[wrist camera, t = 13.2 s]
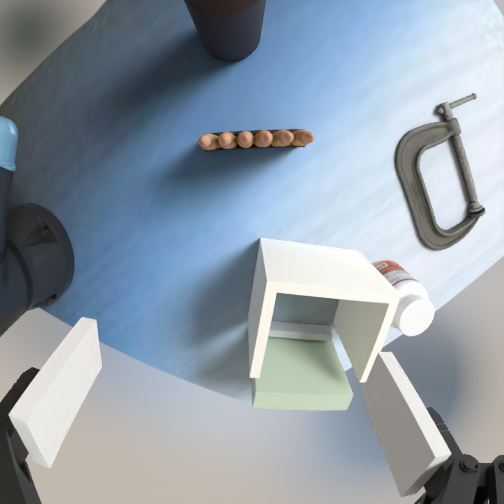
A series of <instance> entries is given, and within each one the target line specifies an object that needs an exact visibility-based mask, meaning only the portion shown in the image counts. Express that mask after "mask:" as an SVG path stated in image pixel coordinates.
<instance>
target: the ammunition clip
mask: <svg viewBox="0 0 504 504" xmlns="http://www.w3.org/2000/svg"><path fill="white" fill-rule="evenodd" d="M269 131H272V132H269ZM313 140H314V134H313V133H312V132H310V131H306V130H304V129H292V130H255V131H235V132H220V133H207V134H204V135H203V136H201V137H200V138H199V140H198V143H199V145H200V146H201V147H202V148H203V149H205V152H206V151H219V150H235V149H254V148H282V147H305V145H307V144H308V143H311V142H312V141H313Z"/></svg>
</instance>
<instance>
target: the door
mask: <svg viewBox="0 0 504 504" xmlns="http://www.w3.org/2000/svg"><path fill="white" fill-rule="evenodd" d="M352 397H353V393H352V390H351V387H350V385H349V382H348V380H347V377H346V375H345V372H344V370H343V367H342V365H341V362H340V360H339V357H338V355H337V352H336V350H335V348H334V345H333V343H332V340H331V341H319V340H305V339H292V338H280V337H270V336H268V339H267V344H266V349H265V354H264V359H263V363H262V368H261V373H260V378H252V406H253V407H254V408H268V409H290V410H347V408H348V406H349V404H350V402H351V399H352Z"/></svg>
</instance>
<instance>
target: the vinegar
mask: <svg viewBox="0 0 504 504" xmlns="http://www.w3.org/2000/svg"><path fill="white" fill-rule="evenodd" d="M184 1H185V3H186V6H187V8H188V10H189V12H190V15H191V17H192V19H193V22H194V24H195V26H196V28H197V31H198V33H199V35H200V38H201V40H202V42H203V45H204V47H205V48H206V50H207V51H208V52H209V54H211V55H213V56H214V57H216V58H218V59H221V60H224V61H235V60H239V59H243V58H245V57H247V56H248V55H250V54H251V53H252V52H253V51H254V50H255V49H256V48H257V46H258V44H259V41H260V36H261V29H262V23H263V16H264V10H265V3H266V0H184Z"/></svg>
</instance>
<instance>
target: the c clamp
mask: <svg viewBox="0 0 504 504" xmlns="http://www.w3.org/2000/svg"><path fill="white" fill-rule="evenodd" d="M476 98H477V96H476V94H474V93H472V95H470V96H467V97H465V98H462V99H460V100H458V101H455V102H453V103H451V104H449V103H448V102H445V103H442V104H440V105H439V106H440V107H439V108H438V109H437V112H438V113H439V114H443V116H444V118H445V122H435V123H430V124H426V125H423V126H420V127H418V128H415V129H413V130H411V131H409V132H408V133H406V134H405V135H404V137H403V138H402V139H401V141H400V142H399V144H398V147H397V151H396V168H397V171H398V174H399V177H400V180H401V182H402V185H403V188H404V191H405V193H406V196H407V199H408V202H409V205H410V208H411V211H412V214H413V217H414V220H415V223H416V227H417V230H418V233H419V236H420V238H421V240H422V241H423V242H424V243H425V244H426V245H427V246H428V247H430V248H432V249H436V250H442V249H446V248H449V247H451V246H453V245H454V244H456V243H457V242H459V241H460V240H461V239H463V238H464V237H465V236H466V235H467V234H468V233H469V232H470V231H471V229H472V228H473V227H474V225H475V224H476V222H477V221H478V219H479V217H480V216H482V215H483V214H484V213H485V208H483V206H482V205H480V204H479V203H478V201H476V199H477V195H476V191H475V187H474V183H473V179H472V175H471V171H470V168H469V164H468V160H467V157H466V153H465V151H464V147H463V144H462V140H461V138H460V136H459V135H460V133H461V129H460V126H459V123H458V120H457V118H453V116H452V115H453V114H452V112H451V109H452V108H454V107H456V106H458V105H461V104H463V103H465V102H468V101H470V100H472V99H476ZM450 136H451V138H452V140H453V144H454V147H455V149H456V153H457V157H458V159H459V163H460V166H461V170H462V174H463V177H464V181H465V185H466V188H467V193H468V197H469V199H470V201H472V202H470V208H469V209H468V212H469V217H468V218H467V219H466V220H464V221H463V222H462V223H460V224H458V225H457V226H455V227H453V228H451V229H450V230H443V229H441V228H440V227H439V226H438V225H437V223H436V220H435V216H434V213H433V209H432V206H431V203H430V199H429V196H428V193H427V190H426V187H425V184H424V181H423V178H422V175H421V172H420V168H419V161H420V157H421V155H422V154H423V152H424V151H425V150H427V149H429V148H431V147H434V146H436V145H438V144H440V143H443V142H445V141H446V140H447V139H448V138H449V137H450Z"/></svg>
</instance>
